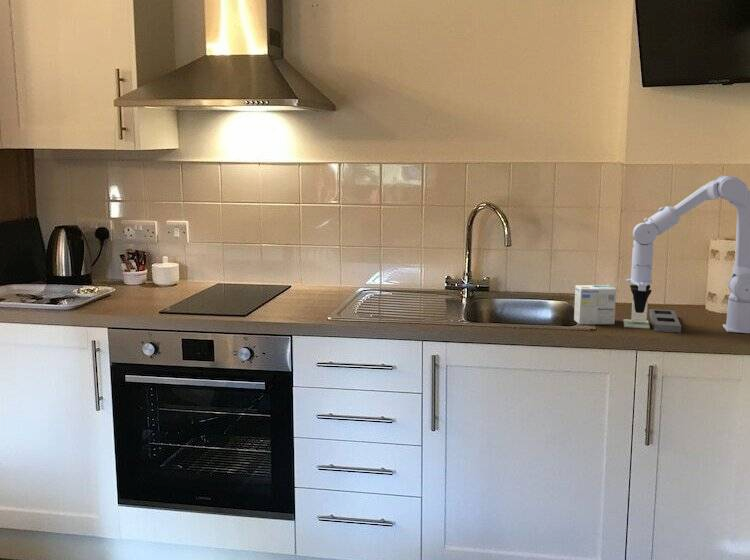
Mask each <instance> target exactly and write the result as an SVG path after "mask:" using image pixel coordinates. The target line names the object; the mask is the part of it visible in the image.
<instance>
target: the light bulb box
mask: <svg viewBox="0 0 750 560" xmlns="http://www.w3.org/2000/svg"><path fill="white" fill-rule="evenodd" d="M616 298H617V288H616V287H613V286H612V285H610V284H591V285H589V284H586V285H585V284H584V285H582V284H580V285H578V284H576V285H574V309H573V311H574V313H573V320H574V322H576V323H577V324H578V325H615V319H616V318H615V317H616V303H617V299H616Z"/></svg>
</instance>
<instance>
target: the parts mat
mask: <svg viewBox="0 0 750 560" xmlns="http://www.w3.org/2000/svg"><path fill="white" fill-rule="evenodd" d="M622 321H623V327H624V328H635V329H637V328H638V329H650V328H651V326H650V322H649V320H647V321H646V322H640V321H632V319H626V318H625V319H624V318H623V320H622Z"/></svg>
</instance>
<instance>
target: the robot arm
mask: <svg viewBox="0 0 750 560" xmlns="http://www.w3.org/2000/svg"><path fill="white" fill-rule="evenodd" d="M720 198H721V199H723V200H726V201H728V202H729V203H730V204H731V205H732V206H733V207H734V208H735V209H736V228H735V229H736V230H735V247H734V248H735V253H734V265H733V268H732V273H731V277H730V278H729V280H728V283H727V285H728V289H729V291H730V292H731V293H730V294H729V296H728V298H727V309H726V319H725V321H726V323H724V324H722V327H723V328H724V330H725V332H727V333H740V334H741V333H742V334H750V189H749V188H748V185H747V183H745V182H744V181H742V180H741V179H739V178H738V177H735V176H731V175H727V174H725V175H724V174H723V175H720V176H717V178H715V179H713V180H711V181H709V182H706V184H704V185H703V186H701V187H699V188H698V189H696V190H695V191H694V192H692V193H691V194H690V195H688V196H687V197H685V198H684V199H682V200H681V201H680V202H678V203H677V204H676V205H674V206H669V205H667V206H666V205H665V207H663V206H660V207H659V208H658V211H657V212H656V213H654V214H652V215H651V216H649V217H648V218H647V217H645V218H644V219H643V221H644V222H640V223H638V224H636V225H635V226H634V227H633V229H632V232H631V235H632V237H633V243H632V245H633V246H632V255H631V270H630V278H626V282H627V283H631V284H630V285H629V287H630V291H631V293H632V298H634V304H635V311H636V313H643V312H644V309H645V305H646V302H647V301H648V298H649V296H650V295H651V293H652V289H651V284H652V283H653V280H652V279H653V278H652V277H653V265H654V261H653V260H654V241H655V240H656V238H657V236H660V235H662V234H664V233H665V232H667V231H668V230H670V229H671V228H673V227H674V226H676V225H677V224H679V222H680V219H681V216H683V215H684V214H686V213H687V212H689V211H691V210H692V209H694V208H696V207H697V206H699V205H701V204H702V203H704V202H706V201H711V200H712V201H713V200H719V199H720Z"/></svg>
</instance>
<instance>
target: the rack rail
mask: <svg viewBox="0 0 750 560" xmlns="http://www.w3.org/2000/svg"><path fill="white" fill-rule="evenodd" d="M648 315H649V318H650V322H651V325H652V327H653V328H652V329H653V331H654V332H661V333H675V332H677V333H678V334H681V333H682V332H681V331H682V325H681V322H680V319H679V318H678V316H677V313H676V311H675V309H674V310H672V309H658V308H657V309H656V308H655V309H654V308H650V309H649V314H648Z"/></svg>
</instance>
